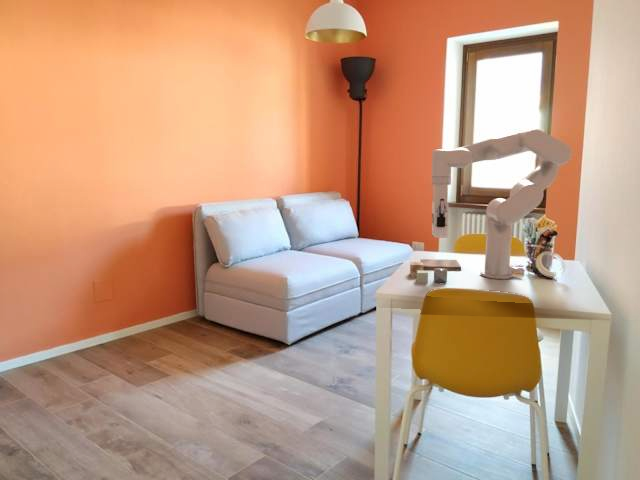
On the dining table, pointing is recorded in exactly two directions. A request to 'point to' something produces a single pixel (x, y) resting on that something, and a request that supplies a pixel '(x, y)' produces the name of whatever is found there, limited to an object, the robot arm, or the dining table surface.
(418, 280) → the sage cube
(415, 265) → the oak block
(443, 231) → the syrup box
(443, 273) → the grey tin
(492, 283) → the dining table surface
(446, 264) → the walnut board
